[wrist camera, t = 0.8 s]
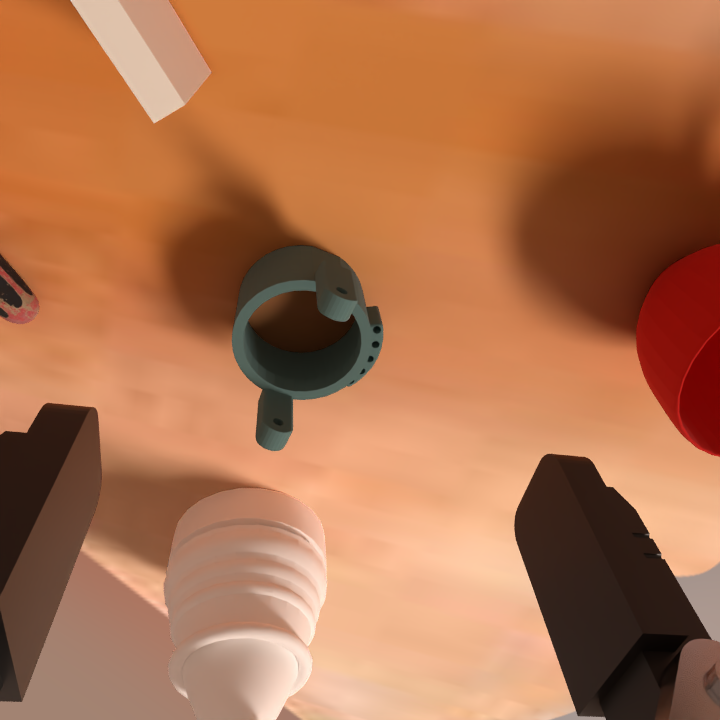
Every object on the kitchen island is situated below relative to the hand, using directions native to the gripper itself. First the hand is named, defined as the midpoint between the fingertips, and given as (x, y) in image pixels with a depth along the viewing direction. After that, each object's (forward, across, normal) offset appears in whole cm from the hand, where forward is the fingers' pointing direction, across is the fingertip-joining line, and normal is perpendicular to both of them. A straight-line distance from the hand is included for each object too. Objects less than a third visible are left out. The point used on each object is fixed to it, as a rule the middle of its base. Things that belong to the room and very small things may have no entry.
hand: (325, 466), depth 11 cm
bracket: (+27, -1, +12) cm, 30 cm away
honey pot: (+27, 0, +35) cm, 44 cm away
